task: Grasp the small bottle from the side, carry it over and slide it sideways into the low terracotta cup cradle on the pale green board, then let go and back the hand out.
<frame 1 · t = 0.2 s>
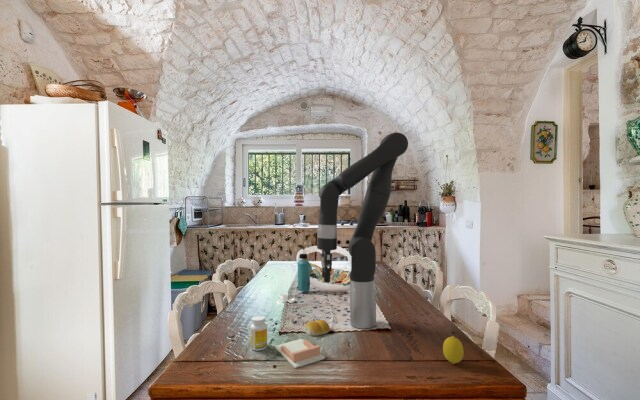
hand: (325, 279, 119), 18 cm above the table, tool pointing down, fingers open, 8 cm apart
teacup and saucer: (286, 305, 146), on the table
bread roll: (316, 332, 115), on the table
beverage bottle: (303, 292, 164), on the table
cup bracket: (299, 353, 99), on the table
lemon: (453, 364, 92), on the table
supplement bottle: (258, 347, 103), on the table
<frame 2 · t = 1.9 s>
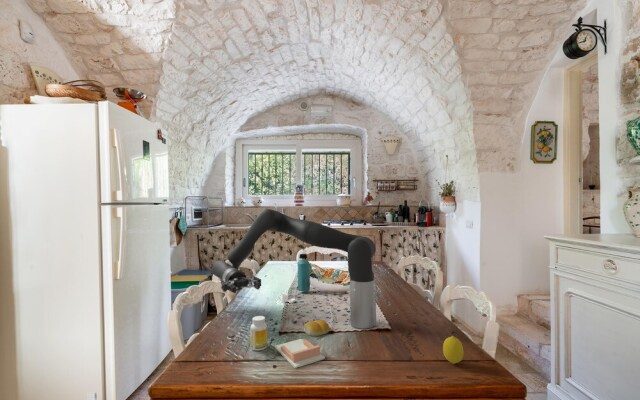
hand: (247, 288, 113), 17 cm above the table, tool horizontal, fingers open, 8 cm apart
nothing on the table moved.
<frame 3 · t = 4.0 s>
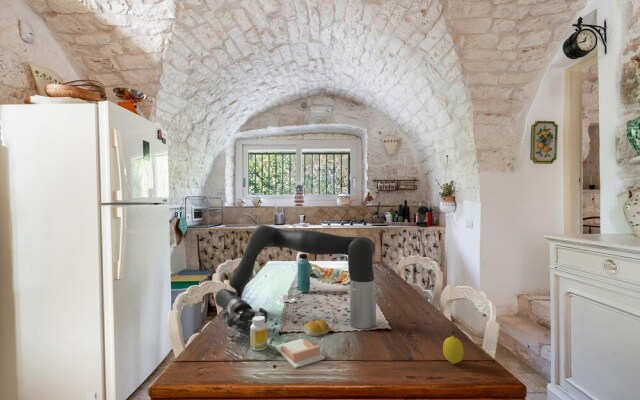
hand: (253, 323, 108), 6 cm above the table, tool horizontal, fingers open, 8 cm apart
nothing on the table moved.
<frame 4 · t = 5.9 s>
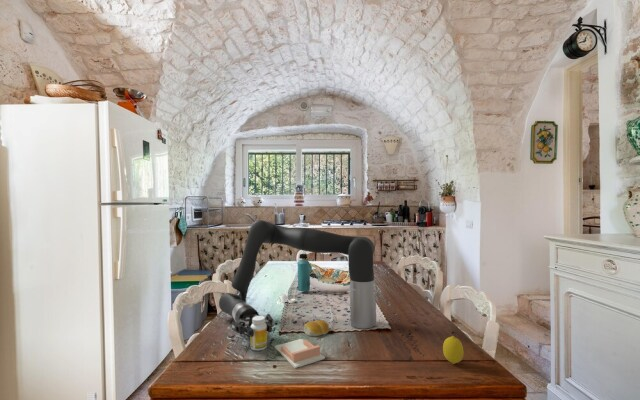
hand: (261, 331, 101), 6 cm above the table, tool horizontal, fingers closed on supplement bottle, 5 cm apart
supplement bottle: (258, 347, 103), on the table, touching gripper
everything else where it was.
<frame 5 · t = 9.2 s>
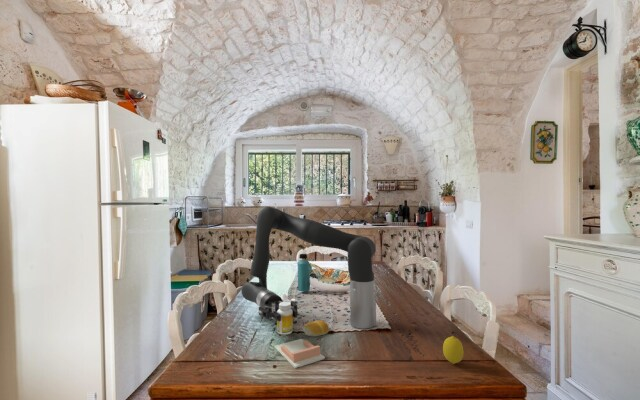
hand: (288, 316, 105), 9 cm above the table, tool horizontal, fingers closed on supplement bottle, 5 cm apart
supplement bottle: (284, 332, 108), point 3 cm above the table, touching gripper
everything else where it was.
when the fingers open (8 cm above the table, at t = 12.3 s): supplement bottle drops 2 cm, resting on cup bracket.
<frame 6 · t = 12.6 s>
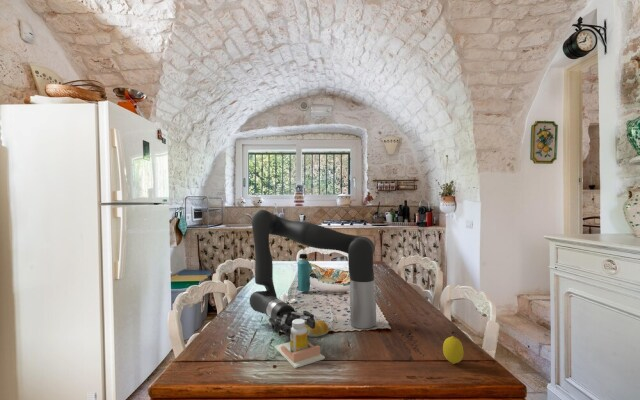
hand: (302, 328, 97), 8 cm above the table, tool horizontal, fingers open, 8 cm apart
supplement bottle: (299, 352, 99), resting on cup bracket
everything else where it was.
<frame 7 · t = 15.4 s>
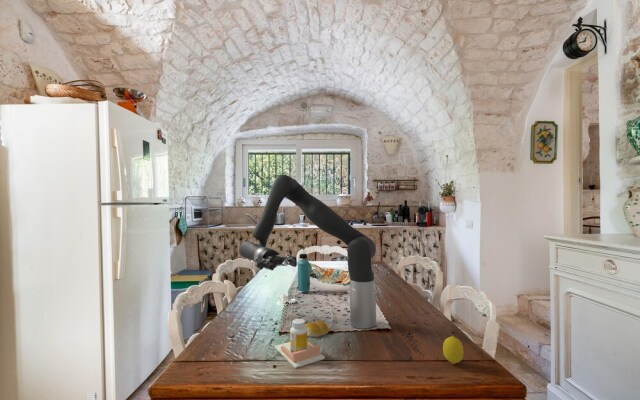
hand: (284, 265, 108), 26 cm above the table, tool horizontal, fingers open, 8 cm apart
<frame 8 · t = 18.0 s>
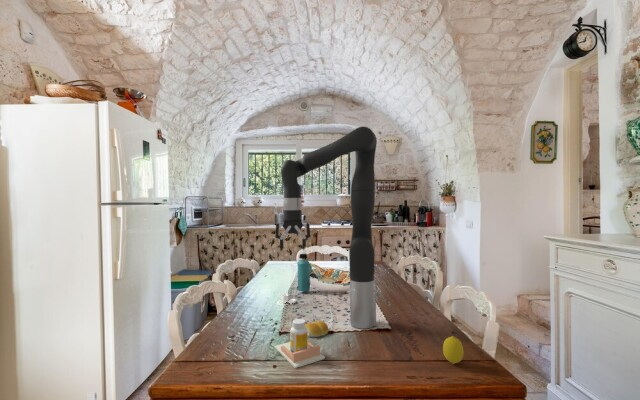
hand: (293, 248, 131), 28 cm above the table, tool pointing down, fingers open, 8 cm apart
at the end: supplement bottle 0.2 cm from the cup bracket (horizontally); supplement bottle resting on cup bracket; supplement bottle tilted 0° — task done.
